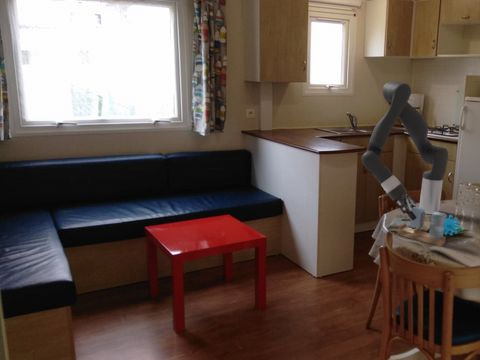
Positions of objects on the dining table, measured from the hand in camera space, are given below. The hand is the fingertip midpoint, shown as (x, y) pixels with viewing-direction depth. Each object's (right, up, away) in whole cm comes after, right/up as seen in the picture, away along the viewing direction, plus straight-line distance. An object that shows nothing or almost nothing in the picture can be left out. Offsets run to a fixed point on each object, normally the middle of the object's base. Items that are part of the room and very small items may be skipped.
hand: (417, 216), depth 195 cm
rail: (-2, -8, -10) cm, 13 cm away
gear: (+12, -7, -3) cm, 15 cm away
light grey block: (0, -6, +1) cm, 6 cm away
